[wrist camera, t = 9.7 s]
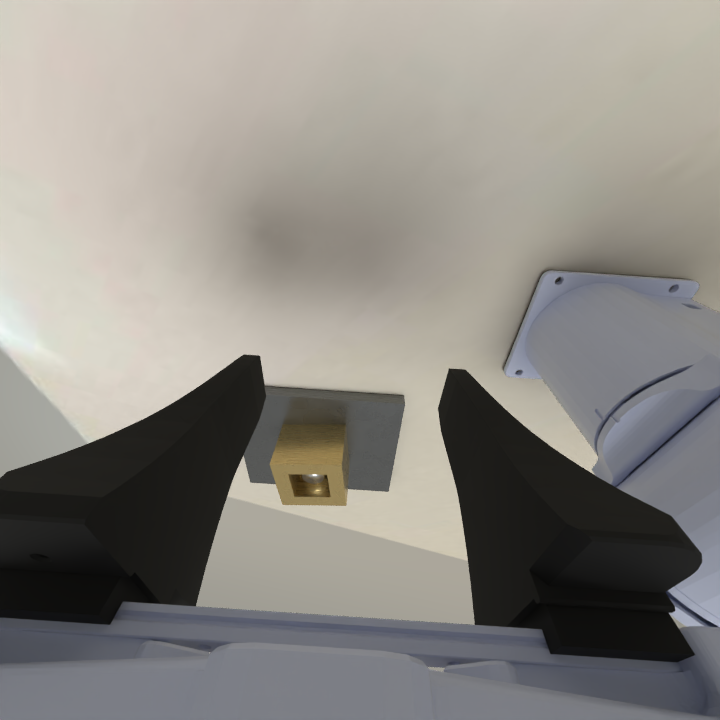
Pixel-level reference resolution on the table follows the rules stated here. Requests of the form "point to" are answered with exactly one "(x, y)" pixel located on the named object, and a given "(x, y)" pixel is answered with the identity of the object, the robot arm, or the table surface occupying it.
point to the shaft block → (321, 407)
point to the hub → (311, 464)
